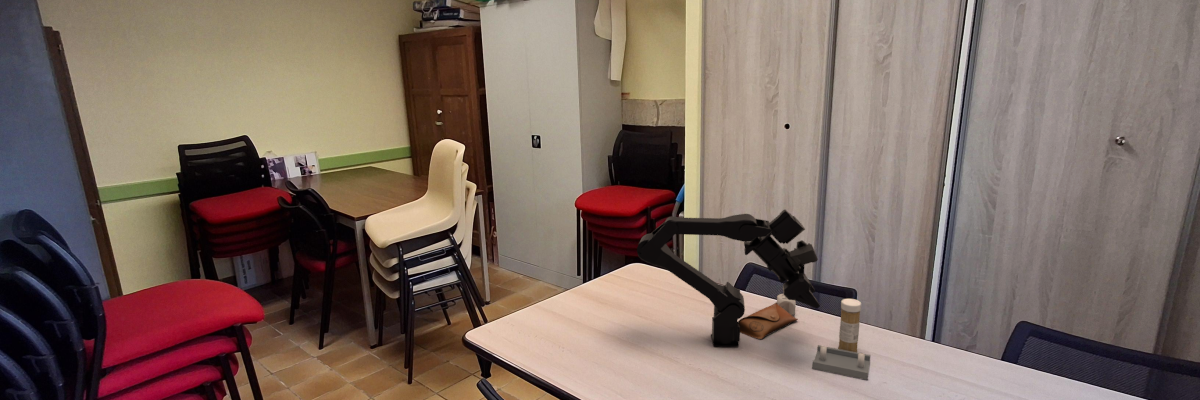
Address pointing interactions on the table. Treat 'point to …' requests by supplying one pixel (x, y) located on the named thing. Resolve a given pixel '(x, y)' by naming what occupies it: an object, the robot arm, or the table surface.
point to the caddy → (842, 362)
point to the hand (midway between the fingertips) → (816, 299)
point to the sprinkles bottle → (849, 324)
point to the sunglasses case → (765, 321)
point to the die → (786, 304)
